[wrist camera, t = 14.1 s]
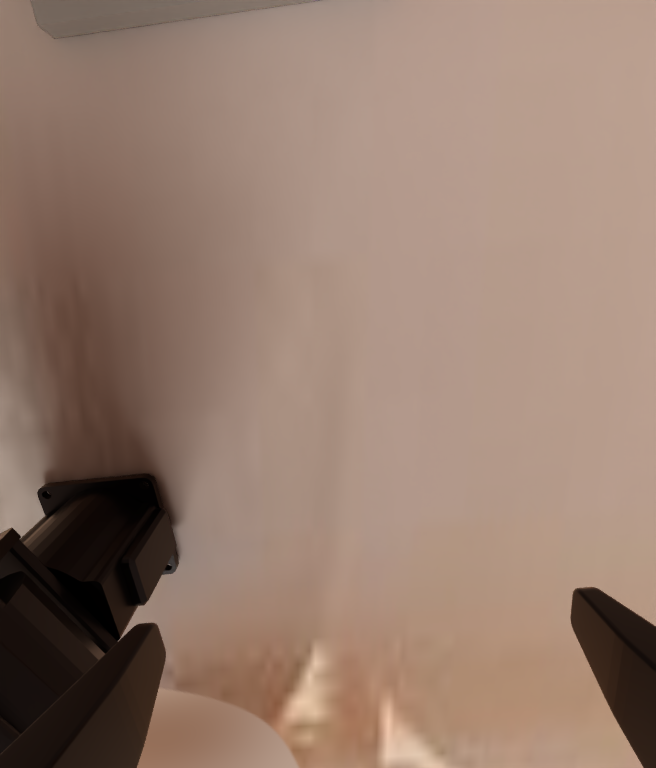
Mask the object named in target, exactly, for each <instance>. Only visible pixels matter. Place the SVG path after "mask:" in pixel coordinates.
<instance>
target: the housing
mask: <svg viewBox="0 0 656 768" xmlns="http://www.w3.org/2000/svg"><path fill="white" fill-rule="evenodd" d="M312 1H319V0H31V4H32V8H33V11H34V15H35V19H36V22H37V25H38V26H39V27H40V28H41V29H43V30H44V31H45V32H47V33H48V34H49V35H50V36H52V37H53V38H54V39H56V38H63V37H70V36H77V35H83V34H90V33H97V32H104V31H111V30H118V29H125V28H132V27H139V26H146V25H153V24H160V23H167V22H174V21H180V20H187V19H194V18H201V17H208V16H215V15H222V14H229V13H236V12H243V11H250V10H257V9H264V8H271V7H277V6H284V5H291V4H298V3H305V2H312Z"/></svg>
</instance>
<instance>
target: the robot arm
mask: <svg viewBox="0 0 656 768" xmlns="http://www.w3.org/2000/svg"><path fill="white" fill-rule="evenodd" d="M143 482H146V483H148V485H149V486H146V485H145V484H144V483H143ZM47 491H48V492H49V493H50V494H51V495H50V494H48V492H47ZM37 494H38V498H39V500H40V503H41V505H42V508H43V511H44V513H45V517H43V518H42V519H41V520H40V521H39V522H38V523H37V524H36V525H35V526H34V527H33V528H32V529H30V530H29V531H28V532H27V533H26V534H25V535H24V536H23V537H22V538H21V536H20V535H19V534H18V533H17V532H16V531H15V530H14V529H13V528H10V529H8V530H6V531H4V532H2V533H1V534H0V768H137V765H138V762H139V759H140V756H141V753H142V750H143V747H144V743H145V740H146V736H147V732H148V728H149V724H150V720H151V716H152V712H153V708H154V704H155V700H156V696H157V692H158V688H159V684H160V680H161V676H162V672H163V668H164V664H165V658H166V651H165V647H164V643H163V640H162V637H161V634H160V631H159V628H158V625H157V624H155V623H143V624H138V625H136V626H134V627H133V628H132V629H131V630H130V631H129V632H128V633H127V634H126V635H125V636H124V637H123V638H122V639H120V638H121V636H122V634H123V632H124V630H125V629H126V627H127V625H128V623H129V621H130V619H131V618H132V616H133V614H134V612H135V610H136V609H137V607H138V606H141V605H145V604H146V602H147V601H148V600H149V598H150V596H151V594H152V593H153V591H154V589H155V587H156V585H157V583H158V581H159V579H160V577H161V575H164V574H172V573H174V572H175V571H176V569H177V567H178V564H179V561H178V557H177V554H176V550H175V549H176V542H175V538H174V534H173V531H172V527H171V524H170V520H169V516H168V513H167V511H166V510H165V509H164V507H163V504H162V500H161V496H160V493H159V489H158V486H157V482H156V480H155V478H154V477H153V476H152V475H150V474H138V475H128V476H117V477H107V478H97V479H87V480H77V481H66V482H56V483H48V484H45V485H44V486H43V487H41V488H40V489H39V490H38V492H37ZM20 538H21V539H20ZM168 564H170V565H171V566H170V565H168ZM571 624H572V627H573V630H574V632H575V635H576V637H577V639H578V641H579V643H580V645H581V647H582V650H583V652H584V654H585V656H586V658H587V660H588V662H589V665H590V667H591V669H592V671H593V673H594V675H595V677H596V679H597V682H598V684H599V686H600V688H601V690H602V692H603V694H604V697H605V699H606V701H607V703H608V705H609V707H610V709H611V711H612V713H613V715H614V717H615V718H616V720H617V722H618V724H619V726H620V727H621V729H622V731H623V733H624V734H625V736H626V738H627V740H628V741H629V743H630V745H631V747H632V748H633V750H634V752H635V754H636V755H637V757H638V759H639V760H640V762H641V764H642V766H643V767H644V768H656V626H654V625H653V624H651V623H650V622H648V621H647V620H645V619H644V618H642V617H641V616H639V615H638V614H636V613H635V612H633V611H632V610H630V609H628V608H627V607H625V606H624V605H622V604H621V603H619V602H618V601H616V600H615V599H613V598H612V597H610V596H609V595H607V594H606V593H604V592H603V591H601V590H599V589H597V588H595V587H585V588H577V589H575V590H574V591H573V597H572V608H571ZM119 639H120V640H119ZM118 640H119V641H118Z"/></svg>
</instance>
